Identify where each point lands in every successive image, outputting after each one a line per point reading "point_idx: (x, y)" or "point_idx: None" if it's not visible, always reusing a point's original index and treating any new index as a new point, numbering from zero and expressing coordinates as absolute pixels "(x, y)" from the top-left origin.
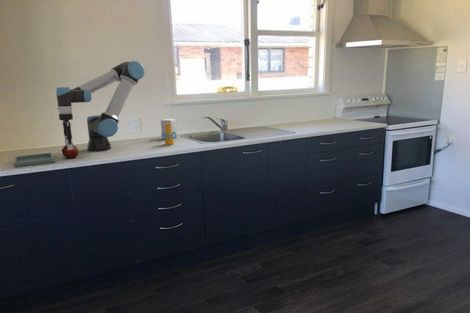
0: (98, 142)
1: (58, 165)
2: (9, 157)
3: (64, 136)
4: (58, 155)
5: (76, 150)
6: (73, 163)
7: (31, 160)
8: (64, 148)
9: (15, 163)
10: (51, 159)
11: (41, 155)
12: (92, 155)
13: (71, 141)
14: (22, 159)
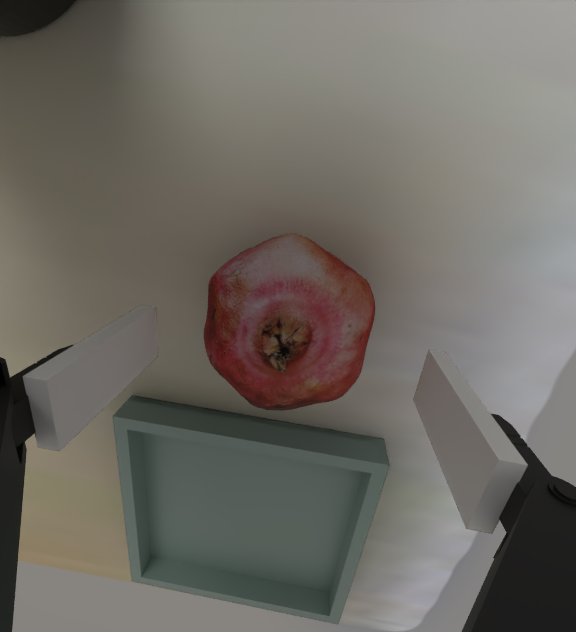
0: None
1: None
2: (29, 548)
3: (57, 447)
4: None
5: (358, 280)
6: (557, 349)
7: (225, 519)
8: (302, 405)
9: (338, 617)
10: (383, 473)
11: (137, 465)
12: (332, 72)
13: (496, 435)
14: (157, 538)
